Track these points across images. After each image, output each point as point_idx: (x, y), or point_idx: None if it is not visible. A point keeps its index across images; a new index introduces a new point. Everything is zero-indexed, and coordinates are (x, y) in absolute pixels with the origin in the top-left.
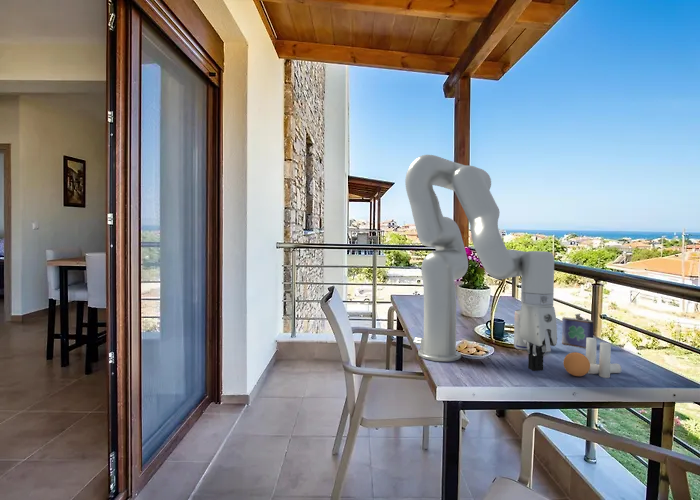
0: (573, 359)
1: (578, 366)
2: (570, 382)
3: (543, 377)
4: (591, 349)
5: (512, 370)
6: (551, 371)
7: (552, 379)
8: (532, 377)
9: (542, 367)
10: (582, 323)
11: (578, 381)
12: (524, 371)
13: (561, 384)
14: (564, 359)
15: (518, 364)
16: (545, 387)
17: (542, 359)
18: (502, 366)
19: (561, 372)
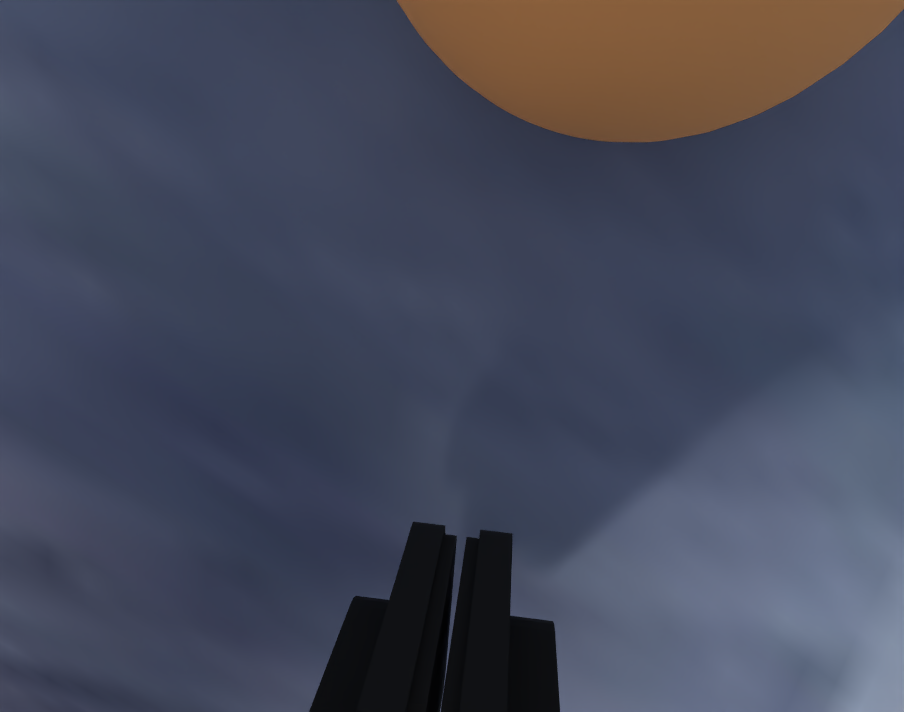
0: (843, 11)
1: None
2: (845, 271)
3: (553, 501)
4: None
5: (245, 685)
6: (340, 212)
7: (655, 439)
8: None
9: (507, 562)
10: None
11: (857, 103)
12: (295, 579)
13: (863, 457)
14: (512, 88)
15: (14, 479)
16: (871, 706)
17: (504, 670)
18: (95, 702)
19: (408, 74)
